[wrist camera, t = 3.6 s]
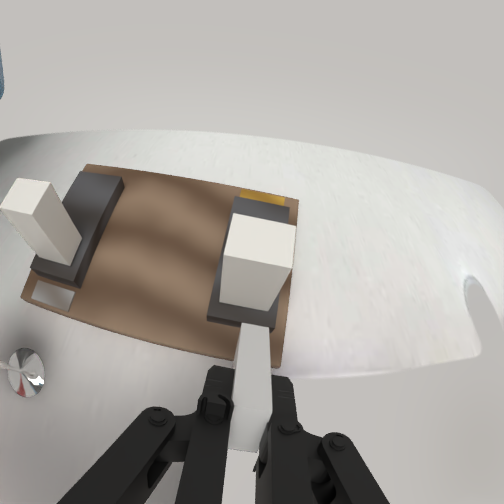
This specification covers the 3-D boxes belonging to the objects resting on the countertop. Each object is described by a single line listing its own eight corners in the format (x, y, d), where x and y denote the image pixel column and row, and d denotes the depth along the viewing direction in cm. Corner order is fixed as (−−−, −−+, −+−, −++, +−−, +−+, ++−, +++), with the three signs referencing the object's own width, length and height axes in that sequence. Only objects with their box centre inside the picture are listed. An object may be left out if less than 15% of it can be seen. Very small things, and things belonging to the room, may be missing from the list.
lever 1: (70, 266, 24) (31, 214, 17) (39, 256, 24) (-1, 207, 17) (82, 238, 25) (50, 182, 19) (51, 230, 25) (17, 177, 18)
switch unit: (277, 368, 25) (285, 363, 23) (26, 301, 25) (11, 290, 22) (296, 206, 34) (302, 189, 32) (89, 170, 34) (83, 153, 31)
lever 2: (268, 311, 25) (292, 268, 18) (219, 301, 24) (223, 254, 17) (272, 278, 26) (296, 226, 19) (226, 269, 26) (233, 213, 19)
